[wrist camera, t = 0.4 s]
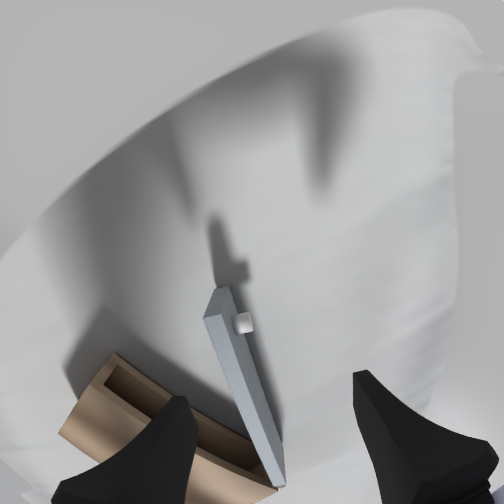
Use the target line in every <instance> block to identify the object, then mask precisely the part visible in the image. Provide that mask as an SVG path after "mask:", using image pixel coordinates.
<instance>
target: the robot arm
mask: <svg viewBox="0 0 504 504" xmlns="http://www.w3.org/2000/svg"><path fill="white" fill-rule="evenodd" d="M353 407H354V411H355V415H356V419H357V423H358V426H359V429H360V432H361V434H362V437H363V440H364V442H365V445H366V447H367V450H368V452H369V455H370V458H371V460H372V463H373V466H374V469H375V472H376V477H377V481H378V485H379V490H380V495H381V499H382V504H504V485H503V486H502V487H500V488H498V489H497V490H496V491H494V492H493V493H492V494H491V493H490V491H489V488H490V487H491V485H490V483H489V481H488V479H489V477H490V476H491V474H492V473H493V471H494V470H495V468H496V466H497V464H498V462H499V457H498V455H497V454H496V452H495V450H494V449H493V447H492V446H491V445H490V444H489V443H488V442H487V441H485V440H480V439H476V438H472V437H468V436H464V435H461V434H458V433H455V432H453V431H450V430H448V429H446V428H444V427H441V426H439V425H437V424H435V423H433V422H431V421H429V420H427V419H426V418H424V417H423V416H421V415H419V414H418V413H416V412H415V411H413V410H412V409H411V408H409V407H408V406H407V405H405V404H404V403H403V402H401V401H400V400H399V399H398V398H397V397H395V396H394V395H393V394H392V393H391V392H390V391H389V390H387V389H386V388H385V387H384V386H383V385H382V384H381V383H380V382H379V381H378V380H377V379H376V378H375V377H374V376H373V375H372V374H371V373H370V371H368V370H363V371H359V372H354V373H353ZM198 427H199V426H198V424H197V422H196V420H195V417H194V415H193V413H192V411H191V409H190V406H189V404H188V402H187V400H186V397H185V396H172V397H171V398H170V400H169V401H168V402H167V403H166V404H165V405H164V406H163V408H162V409H161V410H160V411H159V412H158V413H157V415H156V416H155V417H154V418H153V419H152V420H151V421H150V422H149V423H148V425H147V426H146V427H145V428H144V429H143V430H142V431H141V432H140V433H139V434H138V435H137V436H136V437H135V438H134V439H133V440H132V441H130V442H129V443H128V444H127V445H126V446H125V447H123V448H122V449H121V450H120V451H118V452H117V453H116V454H114V455H113V456H111V457H110V458H108V459H107V460H105V461H104V462H102V463H101V464H99V465H97V466H95V467H94V468H92V469H90V470H88V471H86V472H84V473H81V474H79V475H77V476H74V477H71V478H69V479H66V480H63V481H61V482H60V484H59V486H58V488H57V489H56V491H55V493H54V495H53V497H52V499H51V503H52V504H185V497H186V489H187V484H188V480H189V476H190V472H191V468H192V464H193V460H194V455H195V451H196V447H197V439H198Z"/></svg>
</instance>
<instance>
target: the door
mask: <svg viewBox="0 0 504 504" xmlns="http://www.w3.org/2000/svg"><path fill="white" fill-rule="evenodd" d="M203 320H204V323H205V325H206V328H207V331H208V333H209V336H210V339H211V341H212V344H213V347H214V349H215V352H216V355H217V357H218V360H219V362H220V365H221V368H222V370H223V373H224V375H225V378H226V380H227V383H228V385H229V388H230V390H231V392H232V395H233V397H234V400H235V402H236V404H237V407H238V409H239V412H240V414H241V416H242V419H243V421H244V423H245V426H246V428H247V430H248V432H249V435H250V437H251V439H252V441H253V444H254V446H255V448H256V450H257V452H258V455H259V457H260V459H261V461H262V463H263V465H264V467H265V470H266V472H267V474H268V476H269V478H270V480H271V482H272V484H273V486H276V487H278V488H282V487H285V485H286V477H285V464H284V451H283V445H282V442H281V439H280V437H279V434H278V431H277V428H276V425H275V422H274V420H273V417H272V414H271V411H270V408H269V405H268V402H267V400H266V397H265V394H264V391H263V388H262V385H261V382H260V379H259V376H258V373H257V370H256V367H255V364H254V361H253V358H252V355H251V352H250V349H249V346H248V343H247V340H246V337H245V334H244V333H247V332H252V331H253V323H252V319H251V316H250V313H249V312H245V313H241V314H238V312H237V309H236V306H235V303H234V300H233V296H232V293H231V290H230V287H229V286H225V287H221V288H217V289H214V291H213V294H212V296H211V299H210V301H209V304H208V307H207V309H206V312H205V314H204V317H203Z"/></svg>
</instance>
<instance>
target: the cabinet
mask: <svg viewBox="0 0 504 504" xmlns="http://www.w3.org/2000/svg"><path fill="white" fill-rule="evenodd" d="M172 396H173V395H171V394H170V393H168V392H167V391H165V390H164V389H162V388H161V387H160V386H158V385H157V384H155V383H154V382H152V381H151V380H150V379H148V378H147V377H145V376H144V375H143V374H141V373H140V372H139V371H137V370H136V369H135V368H133V367H132V366H131V365H129V364H128V363H127V362H125V361H124V360H123V359H122V358H120V357H119V356H118V355H116V354H115V353H114V352H113V354H112V355H111V356H110V357H109V359H108V360H107V361H106V363H105V364H104V365H103V366H102V368H101V369H100V370H99V372H98V373H97V374H96V375H95V377H94V378H93V379H92V381H91V382H90V383H89V385H88V386H87V388H86V389H85V391H84V392H83V394H82V396H81V397H80V399H79V400H78V402H77V403H76V405H75V407H74V408H73V410H72V411H71V413H70V414H69V416H68V418H67V419H66V421H65V423H64V424H63V426H62V427H61V429H60V431H59V432H58V434H59V435H60V436H62V437H63V438H64V439H66V440H67V441H68V442H70V443H71V444H72V445H74V446H75V447H76V448H78V449H79V450H81V451H82V452H84V453H85V454H86V455H88V456H89V457H91V458H92V459H94V460H95V461H97V462H98V463H100V464H101V463H102V462H104V461H105V460H107V459H108V458H110V457H111V456H113V455H114V454H116V453H117V452H118V451H120V450H121V449H122V448H123V447H125V446H126V445H127V444H128V443H129V442H130V441H132V440H133V439H134V438H135V437H136V436H137V435H138V434H139V433H140V432H141V431H142V430H143V429H144V428H145V427H146V426H147V425H148V423H149V422H150V421H151V420H152V419H153V418H154V417H155V416H156V415H157V413H158V412H159V411H160V410H161V409H162V408H163V406H164V405H165V404H166V403H167V402H168V401H169V400H170V398H171V397H172ZM190 409H191V411H192V413H193V415H194V417H195V420H196V422H197V424H198V426H199V427H198V439H197V447H196V451H195V455H194V460H193V464H192V468H191V472H190V476H189V480H188V484H187V489H186V497H185V504H254V503H256V502H258V501H260V500H262V499H264V498H266V497H268V496H270V495H272V494H273V493H275V492H277V491H278V487H276V486H273V484H272V482H271V480H270V478H269V476H268V474H267V472H266V470H265V467H264V465H263V463H262V461H261V459H260V457H259V455H258V452H257V450H256V448H255V446H254V444H253V442H251V441H249V440H247V439H245V438H243V437H241V436H239V435H238V434H236V433H234V432H232V431H230V430H229V429H227V428H225V427H223V426H221V425H220V424H218V423H216V422H214V421H213V420H211V419H209V418H208V417H206V416H204V415H203V414H201V413H199V412H198V411H196V410H195V409H193V408H191V407H190Z"/></svg>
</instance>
